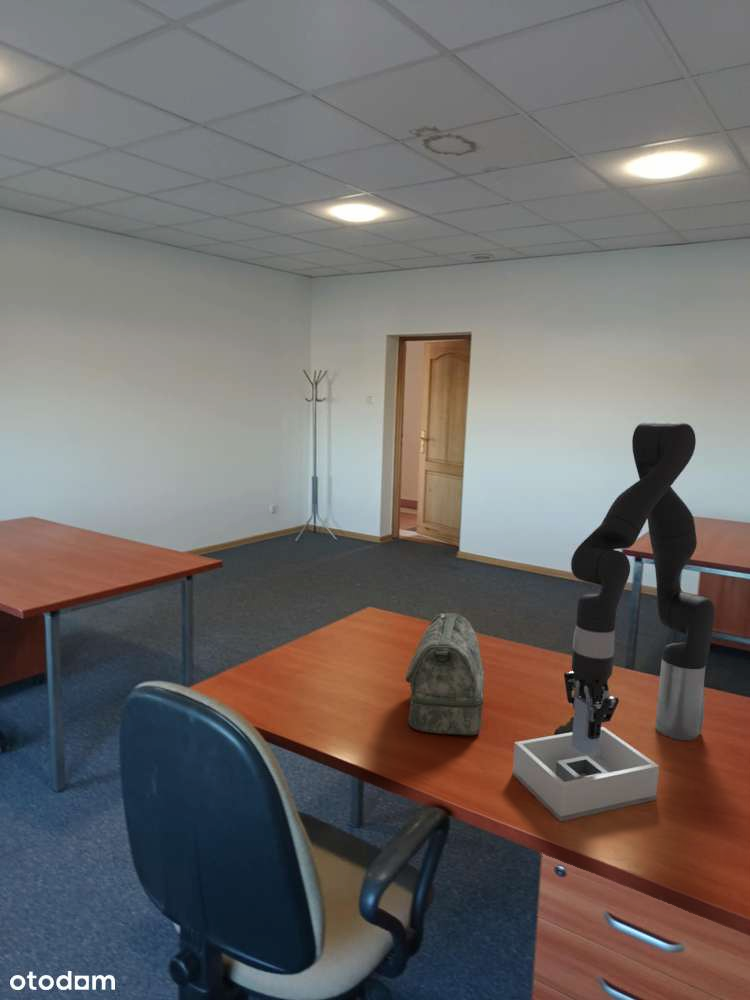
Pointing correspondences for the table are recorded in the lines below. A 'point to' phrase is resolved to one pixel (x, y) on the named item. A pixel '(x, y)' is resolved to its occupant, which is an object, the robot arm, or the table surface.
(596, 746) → the plug
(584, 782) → the walled box
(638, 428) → the robot arm
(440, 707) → the lunch bag
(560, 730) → the hand tool
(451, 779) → the table surface
